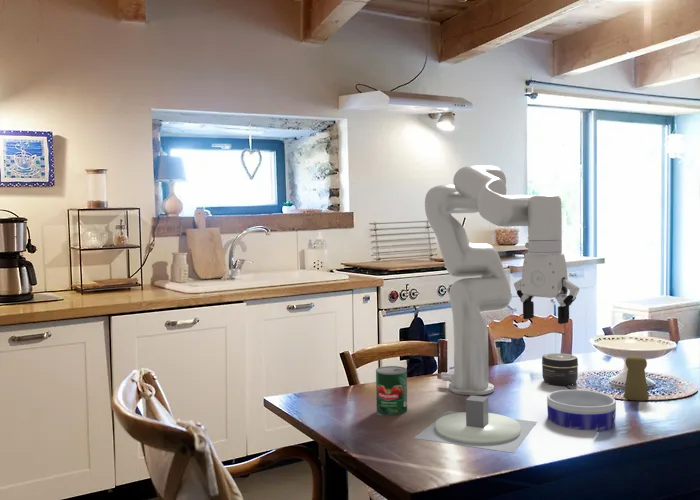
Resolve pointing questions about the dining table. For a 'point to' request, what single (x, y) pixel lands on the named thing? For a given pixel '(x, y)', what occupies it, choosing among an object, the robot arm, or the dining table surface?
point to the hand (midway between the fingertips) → (545, 320)
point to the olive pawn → (636, 378)
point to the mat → (505, 446)
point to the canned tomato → (391, 390)
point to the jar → (560, 369)
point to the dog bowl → (582, 410)
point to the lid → (477, 424)
